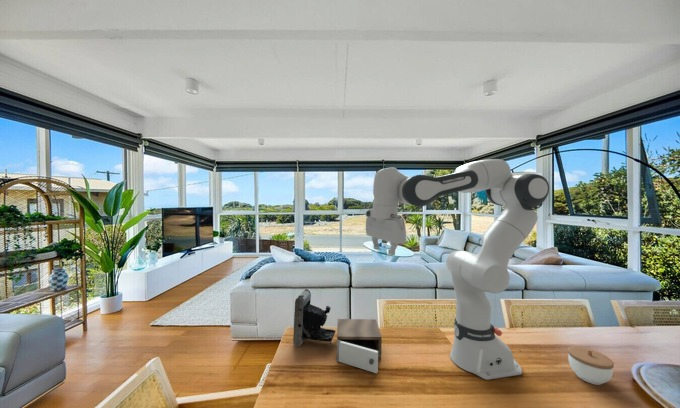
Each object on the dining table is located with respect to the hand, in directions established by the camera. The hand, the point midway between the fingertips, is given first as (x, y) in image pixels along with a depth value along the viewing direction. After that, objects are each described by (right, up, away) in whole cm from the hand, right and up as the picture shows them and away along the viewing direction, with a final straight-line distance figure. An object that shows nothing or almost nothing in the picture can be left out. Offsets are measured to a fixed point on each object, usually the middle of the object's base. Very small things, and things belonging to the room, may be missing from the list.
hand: (383, 252), depth 88 cm
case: (-9, -39, +8) cm, 41 cm away
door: (-10, -39, -3) cm, 41 cm away
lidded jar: (+67, -41, -6) cm, 79 cm away
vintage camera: (-26, -39, +12) cm, 48 cm away
